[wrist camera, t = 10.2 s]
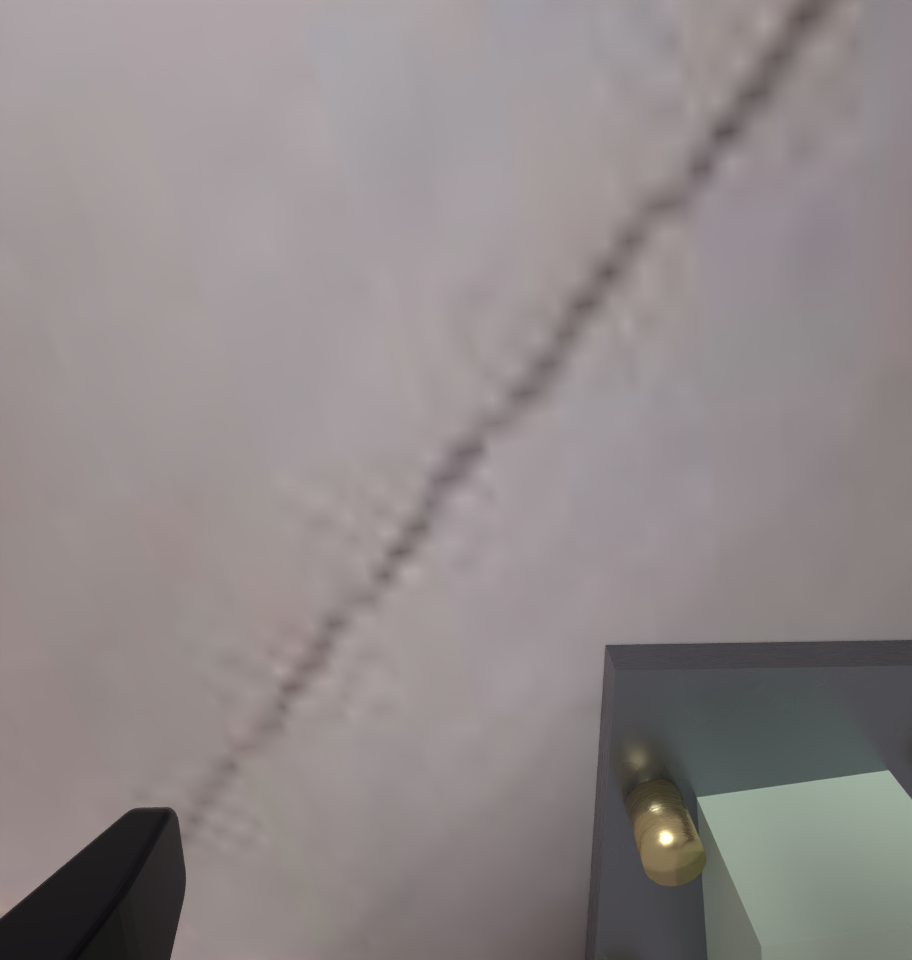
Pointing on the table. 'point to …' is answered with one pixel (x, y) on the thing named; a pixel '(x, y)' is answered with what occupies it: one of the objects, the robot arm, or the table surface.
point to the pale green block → (809, 871)
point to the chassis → (721, 763)
